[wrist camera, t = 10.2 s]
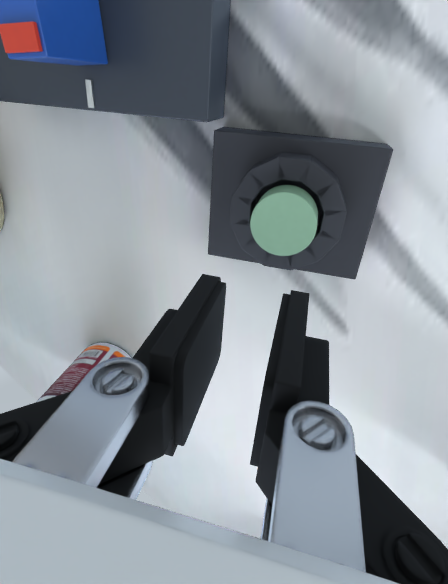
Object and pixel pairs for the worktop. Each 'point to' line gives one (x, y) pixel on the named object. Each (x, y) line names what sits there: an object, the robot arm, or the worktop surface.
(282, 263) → the block
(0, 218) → the planter bowl
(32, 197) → the worktop surface
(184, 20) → the panel
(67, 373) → the pill bottle
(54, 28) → the blue flat block
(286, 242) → the button
